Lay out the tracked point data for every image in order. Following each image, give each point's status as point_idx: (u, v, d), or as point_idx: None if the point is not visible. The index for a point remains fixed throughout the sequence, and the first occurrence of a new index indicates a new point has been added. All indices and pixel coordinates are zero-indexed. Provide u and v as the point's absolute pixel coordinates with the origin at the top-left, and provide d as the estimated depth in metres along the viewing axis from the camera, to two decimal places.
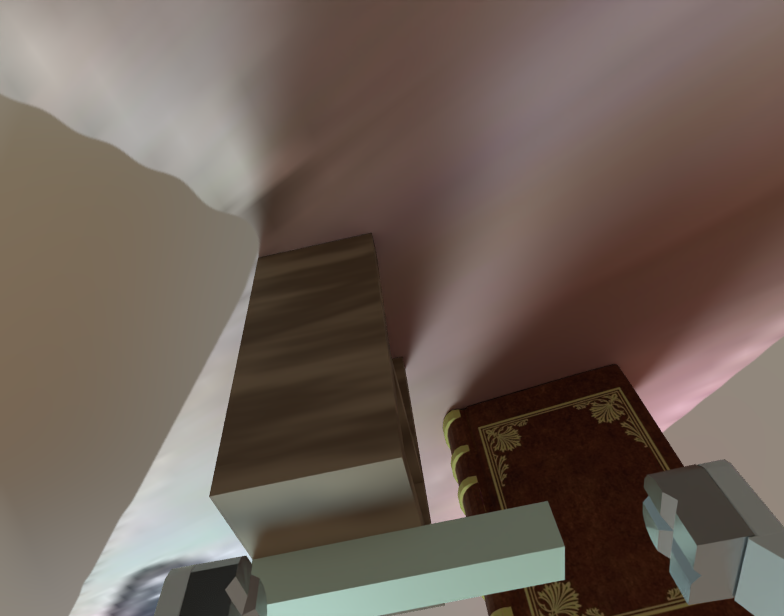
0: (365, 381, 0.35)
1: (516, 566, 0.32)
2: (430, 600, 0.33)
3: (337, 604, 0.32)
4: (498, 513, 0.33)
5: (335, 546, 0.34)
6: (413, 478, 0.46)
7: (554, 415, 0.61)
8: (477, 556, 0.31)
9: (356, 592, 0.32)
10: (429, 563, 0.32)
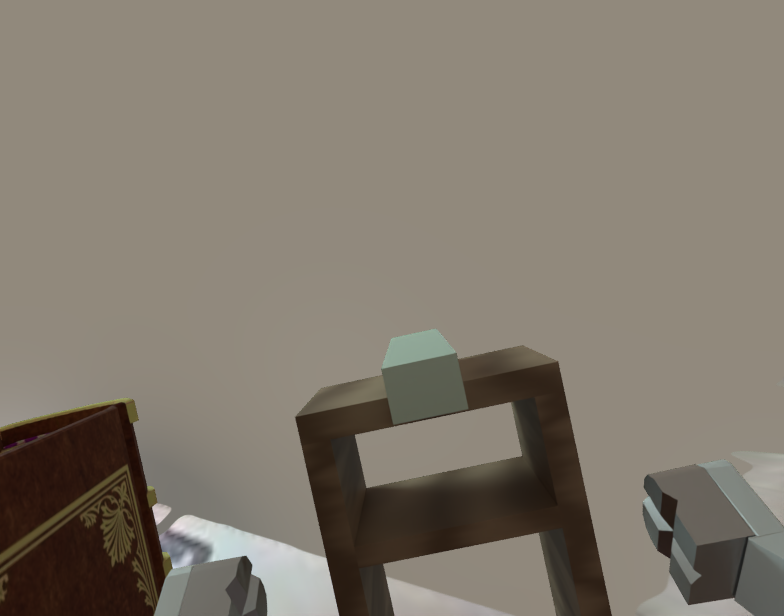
0: None
1: (431, 351, 0.31)
2: (397, 349, 0.36)
3: (420, 337, 0.42)
4: None
5: None
6: (365, 540, 0.37)
7: None
8: None
9: (432, 336, 0.40)
10: None
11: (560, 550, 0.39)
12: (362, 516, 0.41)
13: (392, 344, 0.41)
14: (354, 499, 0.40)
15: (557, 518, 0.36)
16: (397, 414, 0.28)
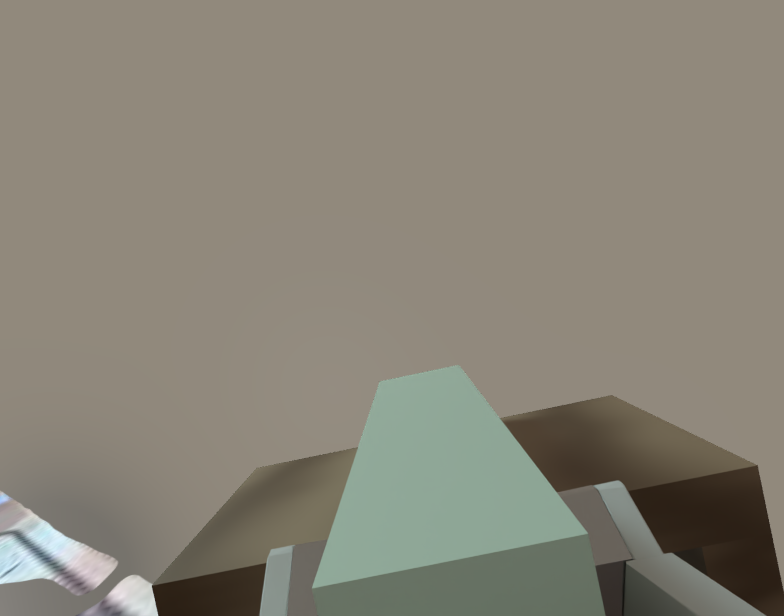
0: None
1: (477, 481, 0.10)
2: (384, 432, 0.16)
3: (433, 388, 0.21)
4: None
5: None
6: None
7: None
8: None
9: (458, 390, 0.20)
10: None
11: None
12: None
13: (377, 405, 0.20)
14: None
15: None
16: None
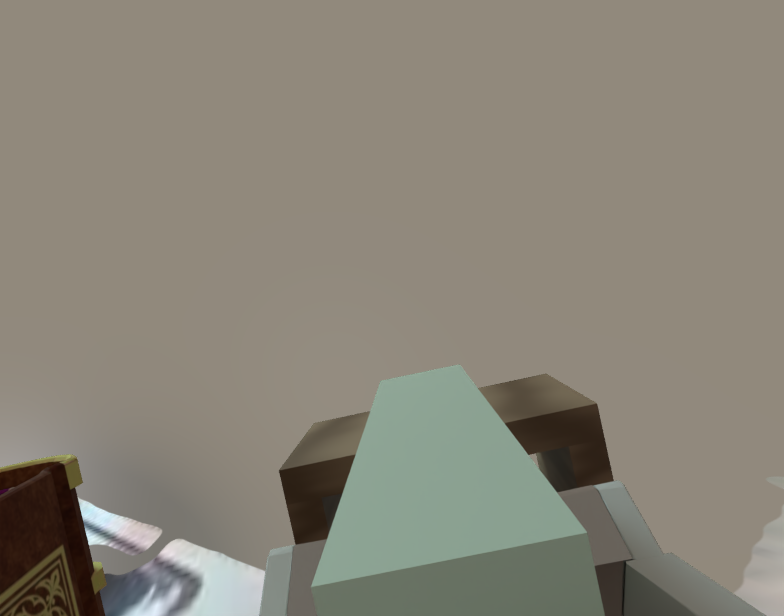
0: None
1: (477, 479, 0.10)
2: (384, 431, 0.16)
3: (434, 388, 0.21)
4: None
5: None
6: None
7: None
8: None
9: (458, 389, 0.20)
10: None
11: None
12: None
13: (378, 405, 0.20)
14: None
15: None
16: None
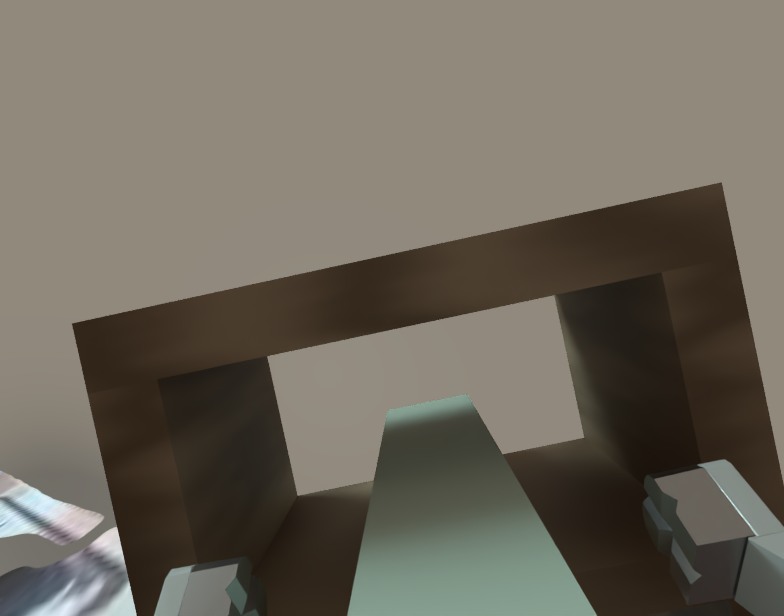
0: None
1: (493, 556, 0.10)
2: (396, 480, 0.16)
3: (443, 424, 0.21)
4: None
5: None
6: None
7: None
8: None
9: (467, 429, 0.20)
10: None
11: None
12: (267, 556, 0.20)
13: (387, 443, 0.20)
14: (246, 521, 0.19)
15: None
16: None
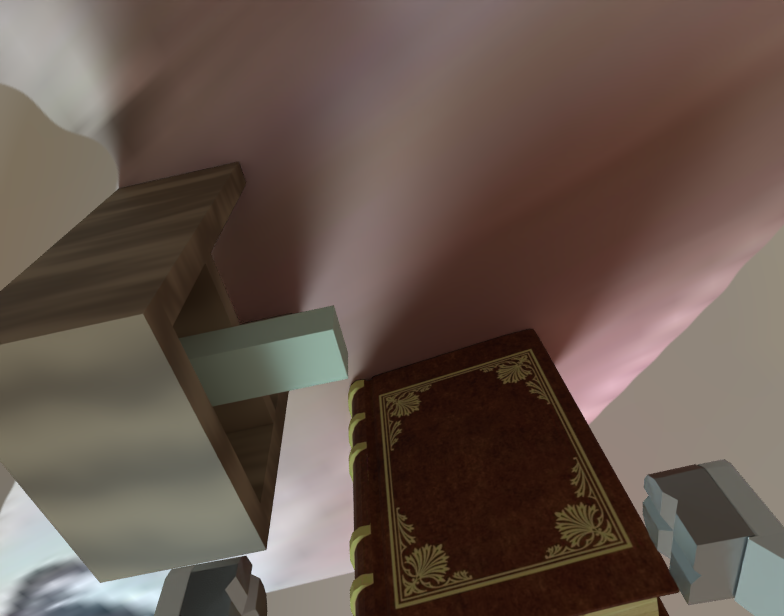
0: (151, 261, 0.30)
1: (293, 353, 0.34)
2: (222, 395, 0.36)
3: None
4: (288, 316, 0.36)
5: None
6: (261, 418, 0.41)
7: (459, 379, 0.55)
8: (256, 342, 0.34)
9: None
10: (212, 350, 0.34)
11: None
12: None
13: None
14: None
15: (209, 260, 0.35)
16: (346, 352, 0.38)
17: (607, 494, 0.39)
